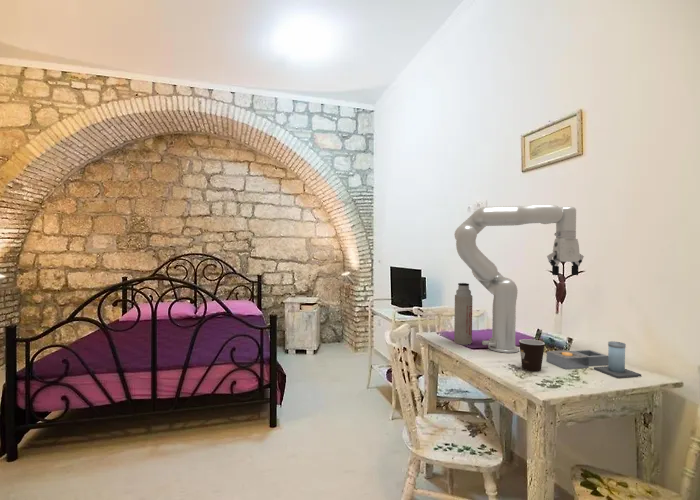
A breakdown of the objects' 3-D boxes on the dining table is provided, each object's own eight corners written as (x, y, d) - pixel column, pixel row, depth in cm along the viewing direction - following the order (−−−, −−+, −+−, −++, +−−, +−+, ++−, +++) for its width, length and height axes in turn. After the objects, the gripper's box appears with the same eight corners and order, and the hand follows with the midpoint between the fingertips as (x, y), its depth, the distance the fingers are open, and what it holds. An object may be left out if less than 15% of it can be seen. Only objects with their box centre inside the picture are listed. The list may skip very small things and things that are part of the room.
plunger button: (566, 363, 147) (566, 354, 147) (559, 361, 151) (559, 352, 151) (574, 363, 148) (574, 354, 148) (567, 360, 152) (567, 351, 152)
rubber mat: (617, 378, 134) (617, 376, 134) (593, 369, 144) (593, 367, 144) (641, 376, 136) (641, 374, 136) (616, 367, 146) (616, 365, 146)
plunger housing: (565, 369, 144) (565, 358, 144) (546, 361, 153) (546, 351, 153) (588, 367, 146) (588, 357, 146) (568, 359, 156) (568, 350, 155)
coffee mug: (545, 373, 138) (546, 346, 138) (519, 370, 141) (519, 343, 141) (541, 364, 149) (542, 338, 149) (517, 362, 152) (518, 336, 152)
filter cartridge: (616, 373, 137) (617, 345, 137) (604, 368, 142) (604, 341, 142) (628, 372, 138) (629, 344, 138) (616, 368, 143) (616, 341, 143)
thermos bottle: (475, 343, 180) (476, 283, 180) (462, 345, 177) (463, 284, 176) (463, 339, 187) (463, 282, 187) (450, 341, 184) (451, 282, 183)
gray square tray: (588, 366, 148) (588, 357, 148) (570, 359, 156) (570, 350, 156) (608, 364, 149) (608, 355, 149) (589, 358, 158) (589, 349, 158)
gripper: (554, 235, 162) (554, 275, 162) (589, 235, 165) (589, 275, 165) (542, 235, 169) (541, 274, 169) (576, 236, 173) (575, 274, 173)
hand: (565, 275), depth 167 cm, fingers open, 9 cm apart
